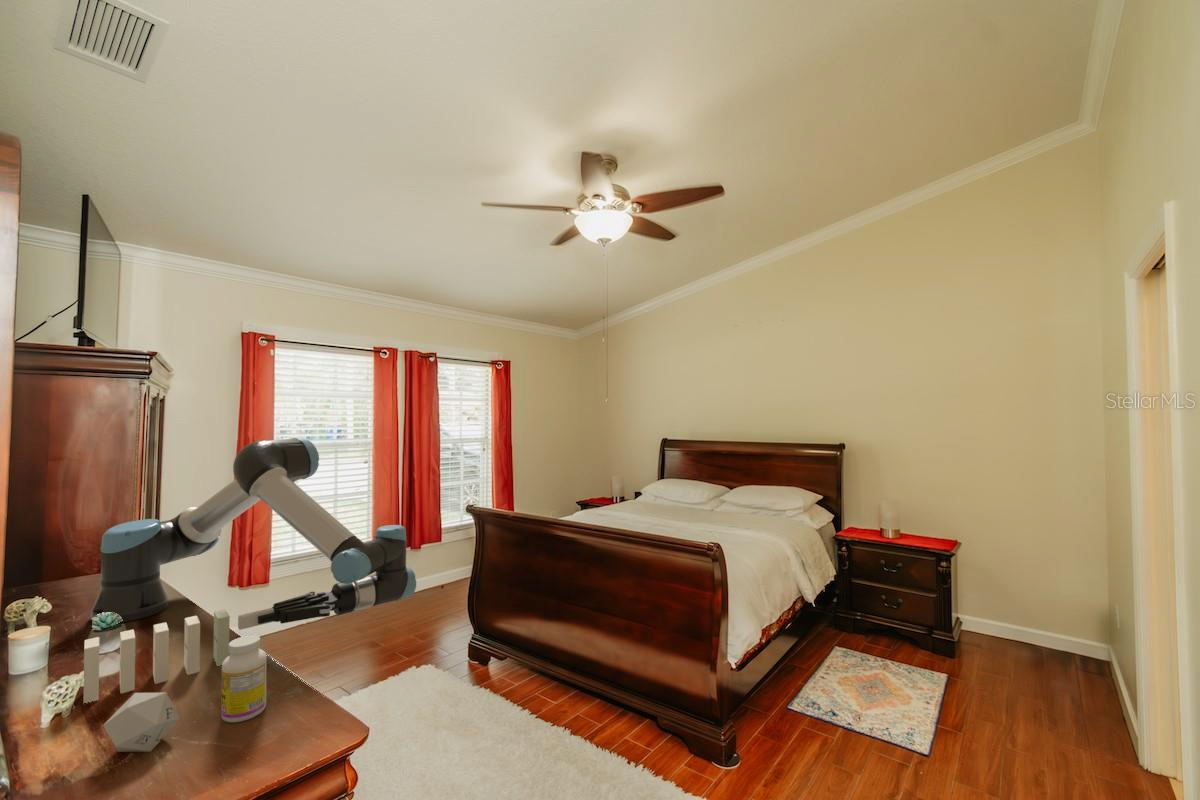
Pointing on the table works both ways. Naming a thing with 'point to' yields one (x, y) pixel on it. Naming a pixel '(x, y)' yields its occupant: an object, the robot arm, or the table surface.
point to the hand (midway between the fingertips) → (239, 622)
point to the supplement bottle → (243, 680)
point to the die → (141, 722)
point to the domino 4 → (221, 636)
